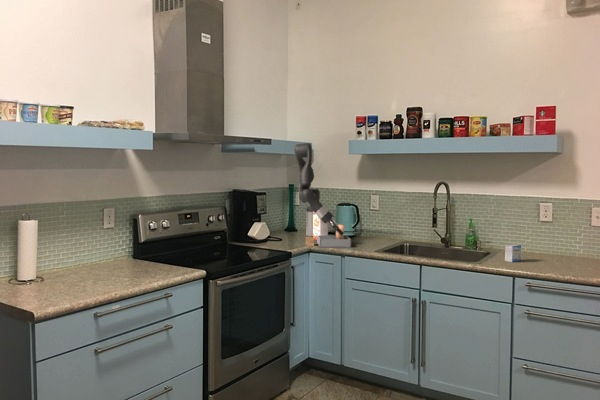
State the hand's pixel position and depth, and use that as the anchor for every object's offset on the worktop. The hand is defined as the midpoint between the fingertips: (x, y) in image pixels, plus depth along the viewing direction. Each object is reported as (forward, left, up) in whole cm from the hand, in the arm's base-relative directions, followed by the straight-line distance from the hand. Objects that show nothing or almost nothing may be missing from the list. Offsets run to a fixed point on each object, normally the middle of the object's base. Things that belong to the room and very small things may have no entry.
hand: (342, 233), depth 318 cm
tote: (0, -6, -7) cm, 9 cm away
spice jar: (0, -2, -4) cm, 5 cm away
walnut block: (-1, -21, -8) cm, 22 cm away
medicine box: (+54, +84, -8) cm, 100 cm away
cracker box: (-20, -12, -8) cm, 25 cm away
